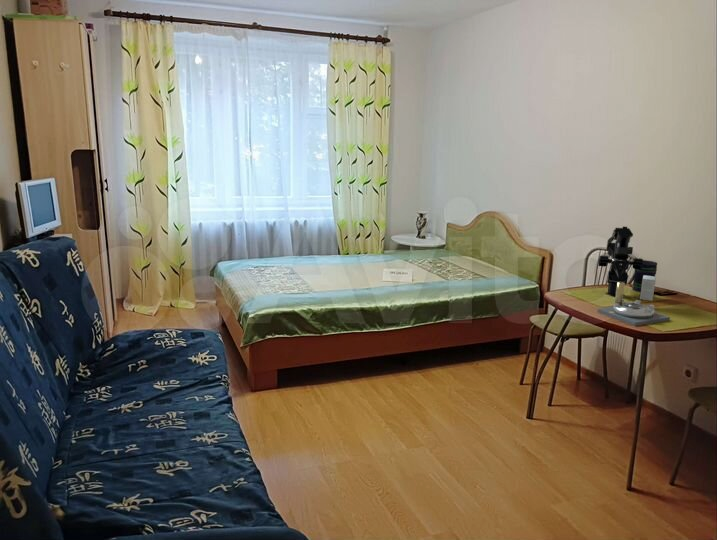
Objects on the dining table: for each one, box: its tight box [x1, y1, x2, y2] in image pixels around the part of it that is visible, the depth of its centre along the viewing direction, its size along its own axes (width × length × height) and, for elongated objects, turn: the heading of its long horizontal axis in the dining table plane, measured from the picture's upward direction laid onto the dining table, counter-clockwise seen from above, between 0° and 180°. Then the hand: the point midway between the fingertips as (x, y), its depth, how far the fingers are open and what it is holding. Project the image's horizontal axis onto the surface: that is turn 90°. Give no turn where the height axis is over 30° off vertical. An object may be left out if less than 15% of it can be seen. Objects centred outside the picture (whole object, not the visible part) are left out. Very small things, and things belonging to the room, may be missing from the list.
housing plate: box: [597, 306, 671, 327], centre depth 230 cm, size 20×20×2 cm
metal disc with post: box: [612, 282, 656, 318], centre depth 229 cm, size 16×16×12 cm
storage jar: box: [632, 259, 658, 293], centre depth 269 cm, size 10×10×15 cm
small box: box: [639, 275, 657, 301], centre depth 256 cm, size 8×6×10 cm
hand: (619, 277), depth 245 cm, fingers closed
